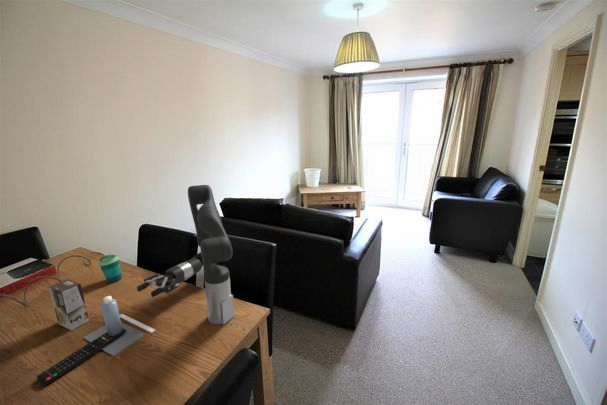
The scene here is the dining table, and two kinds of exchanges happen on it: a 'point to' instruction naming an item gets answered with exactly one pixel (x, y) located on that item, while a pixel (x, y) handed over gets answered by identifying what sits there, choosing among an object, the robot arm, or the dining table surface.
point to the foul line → (137, 323)
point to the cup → (110, 268)
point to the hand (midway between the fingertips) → (144, 292)
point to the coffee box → (69, 303)
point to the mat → (117, 339)
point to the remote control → (76, 358)
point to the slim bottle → (111, 316)
